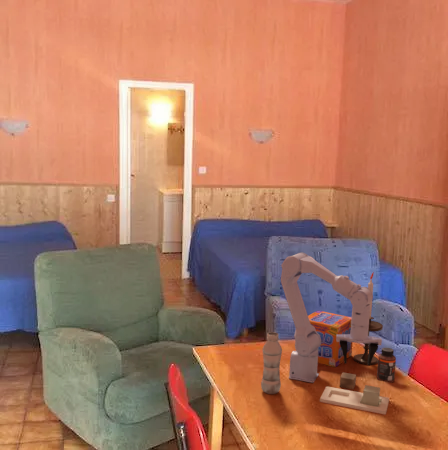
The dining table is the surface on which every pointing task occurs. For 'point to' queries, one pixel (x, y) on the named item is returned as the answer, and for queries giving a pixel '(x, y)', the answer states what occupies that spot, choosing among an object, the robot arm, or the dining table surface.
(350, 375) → the walnut block
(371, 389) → the sage block
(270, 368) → the plastic bottle
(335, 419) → the dining table surface
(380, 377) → the supplement bottle
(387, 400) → the base board
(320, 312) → the game box
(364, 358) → the candlestick
